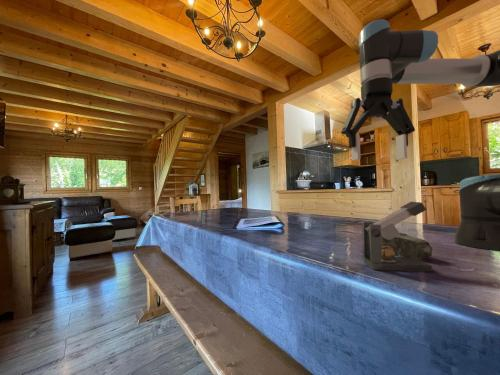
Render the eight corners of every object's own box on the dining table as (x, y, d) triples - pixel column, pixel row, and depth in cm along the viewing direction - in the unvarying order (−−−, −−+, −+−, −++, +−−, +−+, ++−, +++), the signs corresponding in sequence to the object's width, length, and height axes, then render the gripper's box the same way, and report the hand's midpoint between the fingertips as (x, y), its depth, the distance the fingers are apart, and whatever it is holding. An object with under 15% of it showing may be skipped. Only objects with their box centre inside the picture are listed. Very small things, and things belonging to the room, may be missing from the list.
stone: (427, 268, 64) (443, 242, 60) (415, 278, 61) (430, 250, 56) (382, 240, 75) (392, 216, 70) (369, 247, 71) (379, 222, 67)
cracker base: (416, 262, 58) (414, 221, 58) (432, 272, 52) (430, 225, 52) (363, 261, 60) (361, 221, 60) (372, 270, 54) (371, 225, 54)
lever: (420, 216, 57) (410, 201, 58) (432, 218, 53) (421, 202, 53) (372, 242, 59) (363, 227, 59) (380, 246, 54) (369, 230, 55)
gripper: (405, 89, 66) (408, 160, 65) (326, 88, 63) (329, 162, 62) (428, 76, 58) (432, 156, 58) (340, 74, 55) (344, 158, 55)
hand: (379, 159), depth 60 cm, fingers open, 13 cm apart
